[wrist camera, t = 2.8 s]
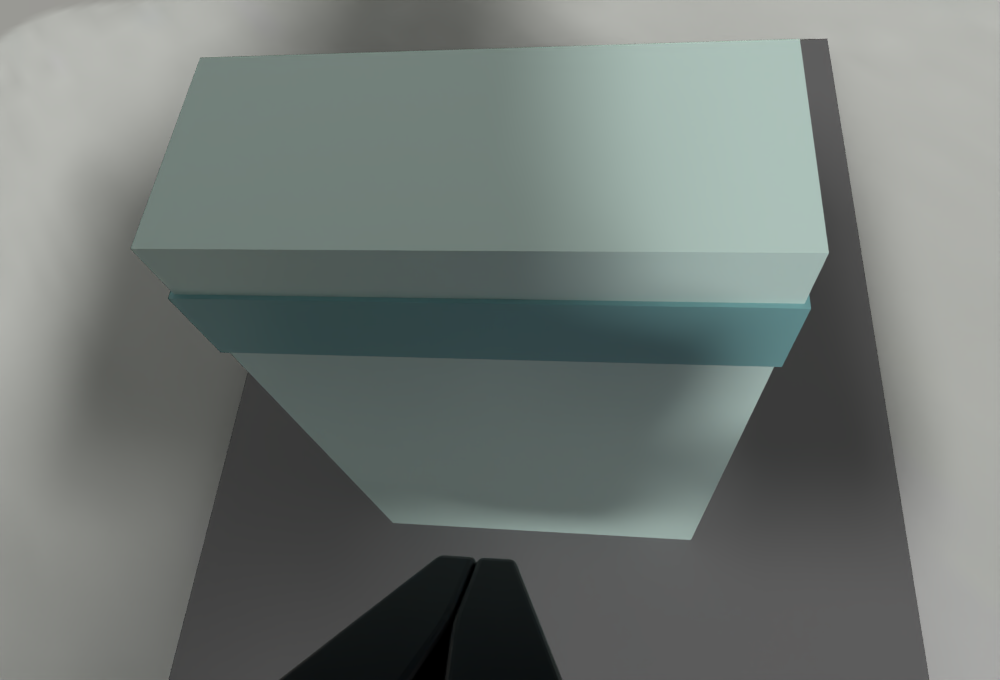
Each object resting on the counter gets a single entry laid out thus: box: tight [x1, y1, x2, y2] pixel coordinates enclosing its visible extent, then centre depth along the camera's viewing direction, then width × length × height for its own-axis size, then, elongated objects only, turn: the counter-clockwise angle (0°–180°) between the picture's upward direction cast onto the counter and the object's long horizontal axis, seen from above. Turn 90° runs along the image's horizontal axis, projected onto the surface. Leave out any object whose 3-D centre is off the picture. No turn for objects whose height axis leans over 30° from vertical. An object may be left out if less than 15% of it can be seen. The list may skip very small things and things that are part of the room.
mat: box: [169, 39, 929, 680], centre depth 16 cm, size 24×14×1 cm, turn 175°
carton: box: [131, 39, 829, 540], centre depth 11 cm, size 2×6×10 cm, turn 85°
